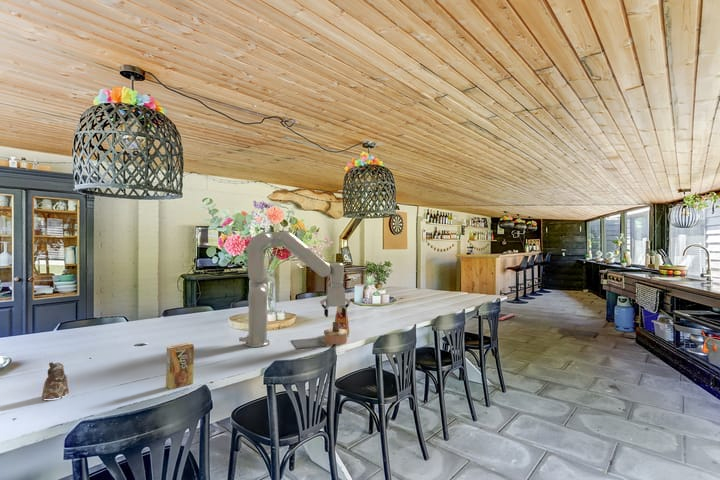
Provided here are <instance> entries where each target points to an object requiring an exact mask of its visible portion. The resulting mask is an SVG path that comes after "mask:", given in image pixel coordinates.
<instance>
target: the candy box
mask: <svg viewBox="0 0 720 480" xmlns="http://www.w3.org/2000/svg"><path fill="white" fill-rule="evenodd" d="M194 345H195V344H193V343H191V342H186V343H181V344H176V345H171V346H166V360H165V361H166V363H165V364H166V365H165V366H166V367H165V368H166V369H165V370H166V373H165V376H166V377H165V378H166V379H165V388H167V389H169V390H173V388H174V389H177V388H181V387H184V386H188V385H191V384H194V358H195V357H194V354H195V353H194V352H195V351H194V350H195V346H194Z"/></svg>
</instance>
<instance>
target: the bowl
mask: <svg viewBox="0 0 720 480" xmlns="http://www.w3.org/2000/svg"><path fill="white" fill-rule="evenodd" d="M323 342H324V343H325V344H326V345H330V346H334V345H333V344H336V345H335V346H340V345H345V344H347V342H348V337H347V334H346V335H342V336H330V335H326V334H324V340H323Z"/></svg>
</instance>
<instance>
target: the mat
mask: <svg viewBox="0 0 720 480" xmlns="http://www.w3.org/2000/svg"><path fill="white" fill-rule="evenodd" d="M290 341H291V343H292V345H293V346H294V348H296V350H303V349H315V348H325V347H328V344H326V343H325V342H324V340H322V339H321V338H320V337H312V338H300V339H291V340H290Z"/></svg>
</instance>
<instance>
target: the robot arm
mask: <svg viewBox="0 0 720 480" xmlns="http://www.w3.org/2000/svg"><path fill="white" fill-rule="evenodd" d="M280 247H283V248H284V249H286V250H287V251H288V252H289V253H291V254H292V256H295V258H297V259H298V260H299V261H300V262H302V263H304V264H305V265H306V266H308V268H309V269H311V270H312V271H313V272H314V273H316V274H317V275H318V276H320V277H323V278H326V277H328V276H329V282H328V283H327V284H326V286H327V287H328V288H327V292H326V298H324V299H322V300H320V301H319V303H320V306H321V307H322V308H323V309H324V310H323V311H324V313H323V314H324V317H326V318H328V317H329V310H328V309H329V307H332V308H333V307H338V306H342V307H343V308H342V316H343V317H344V316H345V312H346V308H347V309H348V307H349V306H350V304H351V301H350V300H349V299H348V298H346V289H345V287H344V273H345V272H344V271H345V264H344V263H341V262H326V261H325V260H323V259H322V258H321V257H320V256H319V255H317V254H316V253H315V252H314V251H313V250H312V248H310V247H309V245H308V244H306V243H305V242H303V241H302V240H301V239H300V238H298V237H297V236H296V235H295V234H293V233H292V232H291V231H290V230H285V231H283V230H282V231H267V232H266V231H261V232H260V233H257V234H256V235H254V236H253V237H252V238H251V239H250V240H249V242H248V245H247V249H246V250H247V251H246V255H247V277H248V279H249V280H250V289H249V291H248V294H247V300H248V326H247V327H248V334H247V335H246V336H245V337H243V336H241V337H239V339H238V342H242V343H243V342H244V345H245V346H246V347H249V346H250V348H260V347H265V346H268V345H270V339H268V338H267V337H268V336H267V335H268V334H267V333H268V329H267V328H268V323H267V322H268V295H269V291H270V289H269V275H268V269H267V267H266V266H265V255H264V251H265V249H266V248H280ZM324 303H325V304H324Z"/></svg>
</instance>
